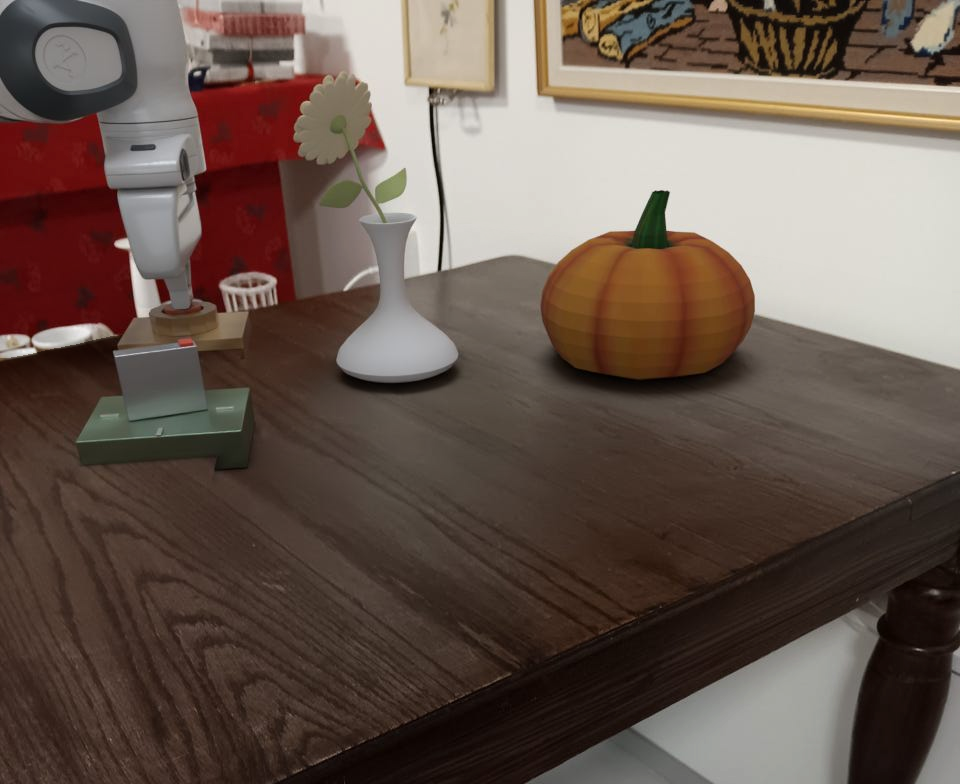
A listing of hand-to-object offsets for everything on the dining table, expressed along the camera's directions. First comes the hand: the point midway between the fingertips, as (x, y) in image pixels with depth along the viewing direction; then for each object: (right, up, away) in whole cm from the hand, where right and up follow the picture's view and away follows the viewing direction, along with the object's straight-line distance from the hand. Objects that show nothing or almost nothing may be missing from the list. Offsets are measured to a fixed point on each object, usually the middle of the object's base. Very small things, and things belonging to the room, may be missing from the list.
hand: (183, 305), depth 100 cm
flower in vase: (+21, -9, -6) cm, 24 cm away
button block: (0, -4, +2) cm, 4 cm away
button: (0, -2, +1) cm, 2 cm away
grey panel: (+6, -16, -22) cm, 28 cm away
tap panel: (+6, -18, -21) cm, 28 cm away
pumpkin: (+45, -7, -5) cm, 46 cm away
